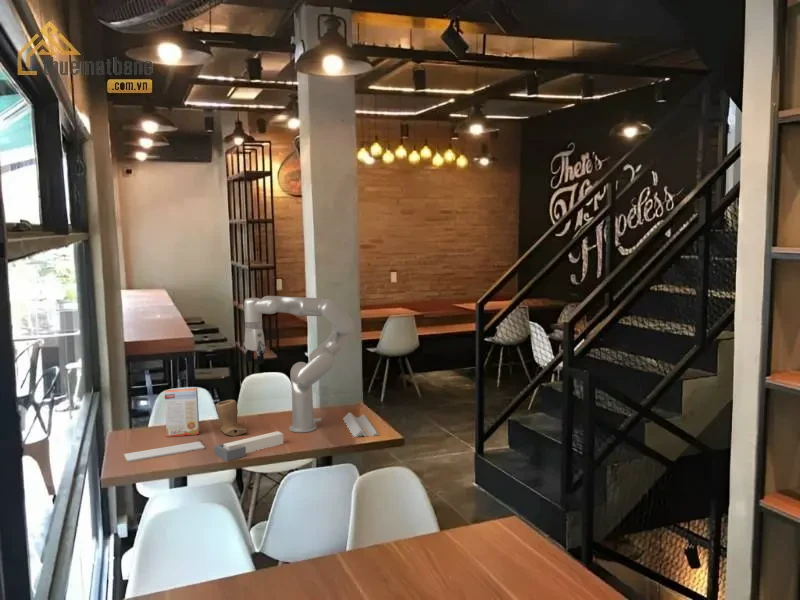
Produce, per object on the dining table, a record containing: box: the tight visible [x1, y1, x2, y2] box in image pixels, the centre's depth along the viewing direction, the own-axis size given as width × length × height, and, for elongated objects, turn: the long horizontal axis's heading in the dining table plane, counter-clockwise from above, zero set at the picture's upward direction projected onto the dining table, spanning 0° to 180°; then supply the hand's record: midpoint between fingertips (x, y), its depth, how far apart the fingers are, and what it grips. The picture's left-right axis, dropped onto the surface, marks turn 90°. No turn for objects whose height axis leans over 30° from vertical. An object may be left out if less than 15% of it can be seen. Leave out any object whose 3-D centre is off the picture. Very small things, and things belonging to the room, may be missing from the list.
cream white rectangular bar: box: [222, 430, 284, 454], centre depth 280 cm, size 26×4×5 cm, turn 132°
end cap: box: [213, 440, 247, 462], centre depth 272 cm, size 8×10×4 cm
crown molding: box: [342, 411, 380, 438], centre depth 311 cm, size 31×12×4 cm, turn 14°
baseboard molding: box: [123, 439, 206, 463], centre depth 278 cm, size 31×3×12 cm
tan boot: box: [215, 399, 247, 437], centre depth 303 cm, size 15×12×15 cm
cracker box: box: [164, 387, 200, 438], centre depth 301 cm, size 14×6×21 cm, turn 103°
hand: (254, 362), depth 297 cm, fingers open, 9 cm apart
